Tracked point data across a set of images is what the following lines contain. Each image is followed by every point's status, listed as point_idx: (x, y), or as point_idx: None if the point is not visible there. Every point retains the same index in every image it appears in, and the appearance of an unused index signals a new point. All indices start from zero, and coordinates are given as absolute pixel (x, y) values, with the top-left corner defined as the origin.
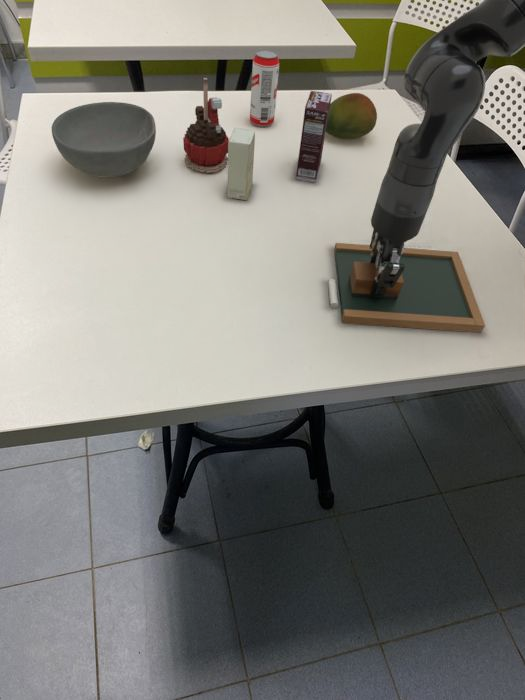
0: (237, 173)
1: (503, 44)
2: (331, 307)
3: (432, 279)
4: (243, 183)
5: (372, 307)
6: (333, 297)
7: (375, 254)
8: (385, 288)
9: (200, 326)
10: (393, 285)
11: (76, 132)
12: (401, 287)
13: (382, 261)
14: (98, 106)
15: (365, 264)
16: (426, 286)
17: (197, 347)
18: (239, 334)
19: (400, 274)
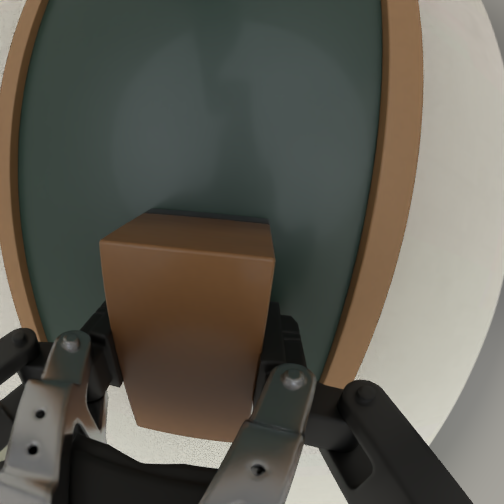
0: (4, 453)
1: None
2: None
3: (135, 28)
4: None
5: (307, 327)
6: (251, 412)
7: (102, 414)
8: (282, 337)
9: (296, 500)
10: (390, 406)
11: None
12: (272, 245)
13: (103, 342)
14: None
15: (142, 402)
16: (177, 55)
17: (330, 497)
18: (320, 483)
19: (459, 490)
